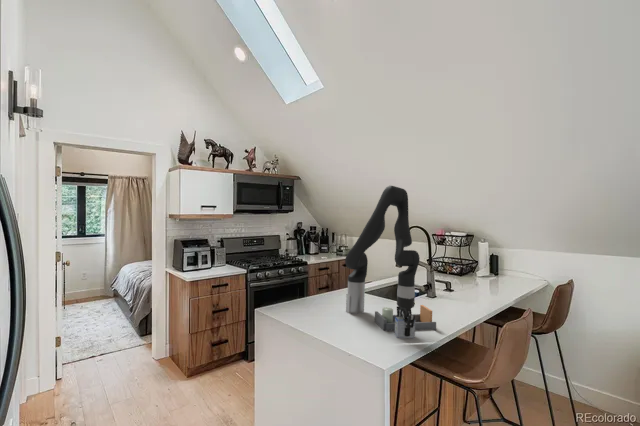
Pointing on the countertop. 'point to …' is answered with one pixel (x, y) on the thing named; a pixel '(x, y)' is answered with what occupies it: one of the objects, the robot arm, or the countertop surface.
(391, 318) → the sage jar
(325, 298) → the countertop surface
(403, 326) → the medicine box
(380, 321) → the pusher lane
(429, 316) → the pusher paddle
